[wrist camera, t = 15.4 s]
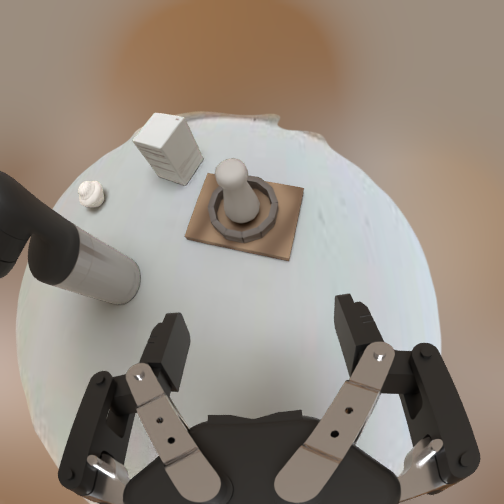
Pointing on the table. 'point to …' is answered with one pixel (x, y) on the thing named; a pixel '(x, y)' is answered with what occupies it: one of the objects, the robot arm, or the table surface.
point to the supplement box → (169, 147)
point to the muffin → (91, 194)
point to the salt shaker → (237, 191)
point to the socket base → (255, 231)
